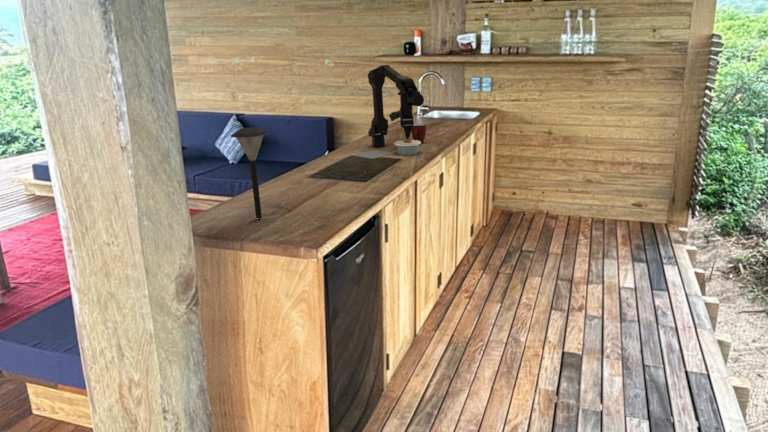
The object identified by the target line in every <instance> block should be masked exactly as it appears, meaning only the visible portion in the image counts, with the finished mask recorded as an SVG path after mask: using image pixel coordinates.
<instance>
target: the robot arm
mask: <svg viewBox="0 0 768 432" xmlns="http://www.w3.org/2000/svg"><path fill="white" fill-rule="evenodd" d="M367 78H368V80H367V81H368V84H369V85H370V86H371V88H372V101H373V102H372V105H373V118H372V120H371V125H370V126H371V127H370V128H369V130H368V132H367V134H368V136H369V137H371V144H372V145H370V148H375V149H380V148H384V147H385V148H386V143H385V142H386V140H385V136H387V135H388V131H389V120H388V119H387V118H386V117H385V116H384V115H385V114H384V98H383V97H384V96H383V95H384V94H383V86H384V84H385V82H386V78H388V79H389V80H390V81H392V82H393V83H394V84H395V87H396V88H397V90H398V91H399V92H397V95H398V96H399V99H400V101H399V102H400V103H399V104H400V107H399V110H397V111H393V112H392V111H391V113H390V114H388V116H389V119H390V121H391V122H394V121H396V120H398V119H400V122H399V123H400V127H402V128H403V130H404V134H405V135H406V139H409V136H410V134H412V132H411V131H412V128H413V125H414V124H415V123H414V115H413V112H414V111H413V109H414V107H421V106H422V105H424V102H425V98H424V96H423V94H421V91H420V90H418V87H417V86H416V83H415V81H414V79H413V78H412V77H409V76H407V75H402V74H401V73H399V72H398V71H397V70H395V69H394V68H393V67H391V65H390V64H381V65H380V66H378V67H376V68H374V69H372V70H369V72H368V73H367Z"/></svg>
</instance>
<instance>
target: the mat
mask: <svg viewBox="0 0 768 432" xmlns="http://www.w3.org/2000/svg"><path fill="white" fill-rule="evenodd" d="M395 154H397V153H396V152H391V151H385V150H379V149H371V150H368V151H363V152H359V153H358V152H357V153H353V154H352V157H353V156H354V157H360V158H367V159H371V160H374V159H378V158H382V157H386V156H392V155H395Z"/></svg>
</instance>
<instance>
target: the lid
mask: <svg viewBox="0 0 768 432" xmlns="http://www.w3.org/2000/svg"><path fill="white" fill-rule="evenodd" d="M402 138H403V140H398V141H395V142H393V143H394V145H395V146H396V147H397V146H416V145H418V146H420V145H421V144H422V143H421V141H418V140H413V137H412V133H410V136H409V139H406V135H405V133H403V137H402Z"/></svg>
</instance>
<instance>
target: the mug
mask: <svg viewBox="0 0 768 432" xmlns="http://www.w3.org/2000/svg"><path fill="white" fill-rule="evenodd" d="M426 132H427V124H426V123H414V125H413V128H412V131H411V135H412V140H418V141H421V144H423V143H424V141H425V139H426Z"/></svg>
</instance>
